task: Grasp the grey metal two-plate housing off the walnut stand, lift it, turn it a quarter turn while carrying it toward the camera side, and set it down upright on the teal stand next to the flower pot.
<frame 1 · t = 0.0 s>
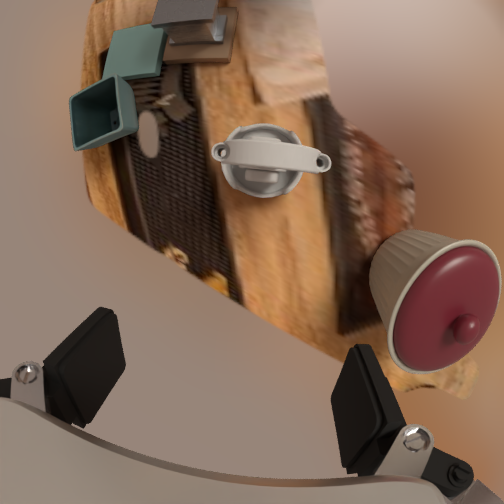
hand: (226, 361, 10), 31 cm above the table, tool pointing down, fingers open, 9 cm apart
engine component: (267, 161, 37), on the table
stand a: (202, 36, 31), on the table
canister: (400, 266, 40), on the table
flower pot: (125, 119, 36), on the table
stand b: (137, 53, 32), on the table
housing: (199, 31, 29), point 2 cm above the table, touching stand a
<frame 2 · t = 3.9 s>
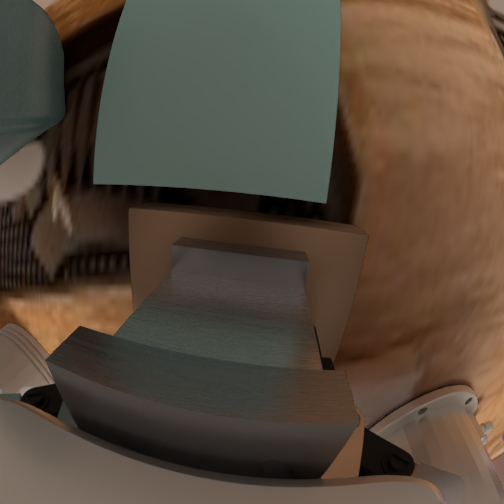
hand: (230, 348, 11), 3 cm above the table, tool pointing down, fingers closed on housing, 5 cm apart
engine component: (36, 368, 19), on the table
stand a: (239, 308, 14), on the table
flower pot: (42, 101, 11), on the table
stand b: (219, 81, 11), on the table
housing: (234, 329, 12), point 2 cm above the table, touching gripper, stand a
when the fingers open (5 cm above the table, at t = 9.6 s): housing drops 1 cm, resting on stand b.
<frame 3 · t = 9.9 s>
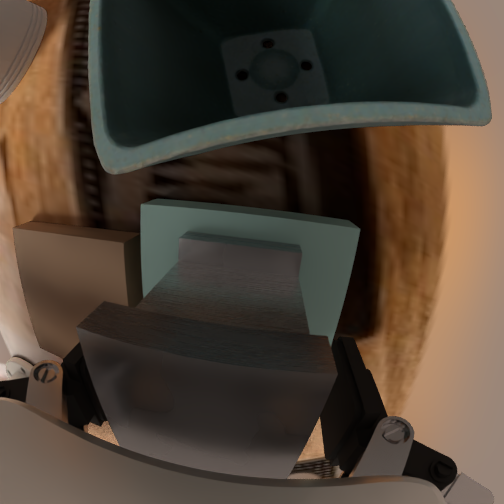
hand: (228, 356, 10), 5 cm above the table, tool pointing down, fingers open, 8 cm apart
engine component: (9, 56, 11), on the table
stand a: (83, 296, 16), on the table
flower pot: (273, 74, 12), on the table
stand b: (242, 297, 15), on the table
housing: (235, 316, 13), point 2 cm above the table, touching stand b
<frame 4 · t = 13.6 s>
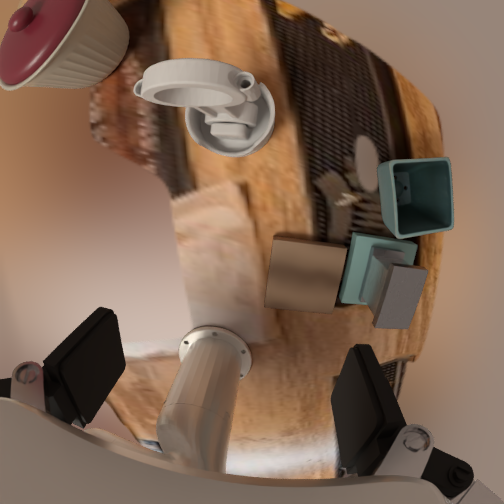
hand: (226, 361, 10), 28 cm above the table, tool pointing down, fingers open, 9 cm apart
engine component: (233, 121, 33), on the table
stand a: (303, 273, 39), on the table
canister: (100, 54, 30), on the table
flower pot: (394, 189, 34), on the table
stand b: (376, 269, 38), on the table
housing: (380, 274, 36), point 2 cm above the table, touching stand b
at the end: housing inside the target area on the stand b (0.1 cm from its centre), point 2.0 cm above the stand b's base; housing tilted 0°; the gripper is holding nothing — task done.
